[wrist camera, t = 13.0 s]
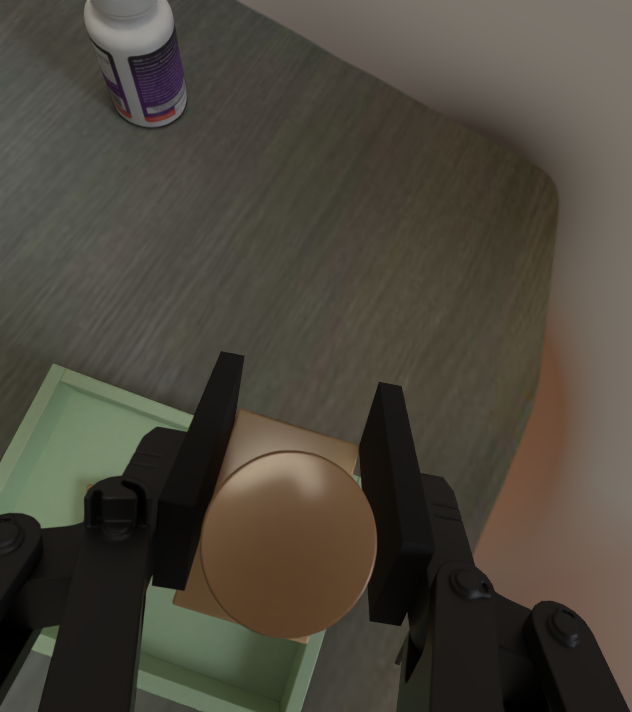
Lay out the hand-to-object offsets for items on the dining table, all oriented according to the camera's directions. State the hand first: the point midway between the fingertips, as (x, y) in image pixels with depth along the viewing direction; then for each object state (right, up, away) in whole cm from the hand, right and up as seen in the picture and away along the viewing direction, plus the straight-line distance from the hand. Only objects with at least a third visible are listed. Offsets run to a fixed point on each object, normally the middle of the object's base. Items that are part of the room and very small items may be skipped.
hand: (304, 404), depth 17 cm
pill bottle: (-12, +21, +22) cm, 32 cm away
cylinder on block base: (-1, -4, +2) cm, 5 cm away
